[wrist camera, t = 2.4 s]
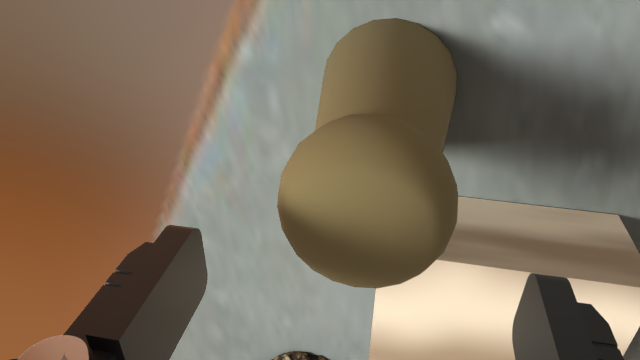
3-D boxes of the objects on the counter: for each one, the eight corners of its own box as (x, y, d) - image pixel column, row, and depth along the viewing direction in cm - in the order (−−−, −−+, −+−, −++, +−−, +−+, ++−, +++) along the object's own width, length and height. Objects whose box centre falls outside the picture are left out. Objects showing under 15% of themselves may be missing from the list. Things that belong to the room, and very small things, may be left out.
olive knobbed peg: (383, -14, 19) (343, 86, 10) (487, 81, 21) (533, 245, 12) (297, 90, 23) (208, 236, 13) (392, 167, 24) (370, 348, 15)
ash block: (388, 188, 24) (379, 252, 20) (618, 214, 23) (660, 290, 19) (372, 330, 30) (363, 402, 26) (553, 359, 29) (574, 441, 25)
